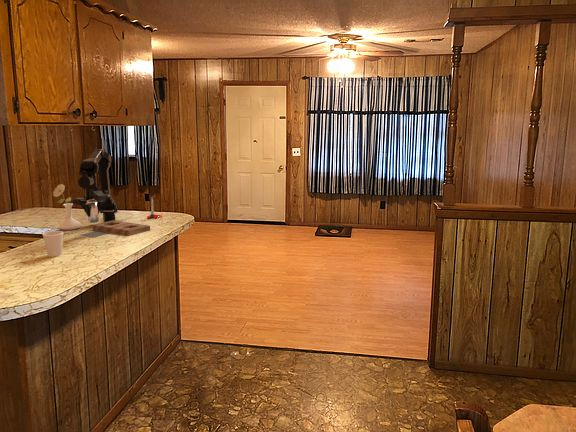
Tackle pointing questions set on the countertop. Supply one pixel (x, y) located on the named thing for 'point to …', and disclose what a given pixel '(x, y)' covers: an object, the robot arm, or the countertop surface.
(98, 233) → the rubber mat
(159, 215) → the tow hook
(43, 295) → the countertop surface
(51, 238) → the dixie cup
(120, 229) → the hole block
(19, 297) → the countertop surface
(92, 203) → the steel peg
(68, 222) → the flower in vase
